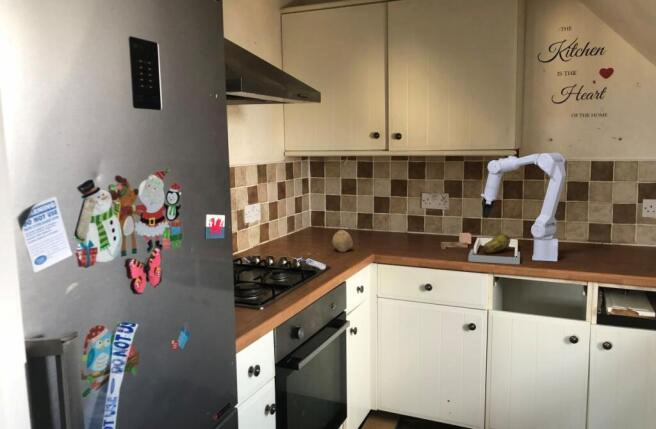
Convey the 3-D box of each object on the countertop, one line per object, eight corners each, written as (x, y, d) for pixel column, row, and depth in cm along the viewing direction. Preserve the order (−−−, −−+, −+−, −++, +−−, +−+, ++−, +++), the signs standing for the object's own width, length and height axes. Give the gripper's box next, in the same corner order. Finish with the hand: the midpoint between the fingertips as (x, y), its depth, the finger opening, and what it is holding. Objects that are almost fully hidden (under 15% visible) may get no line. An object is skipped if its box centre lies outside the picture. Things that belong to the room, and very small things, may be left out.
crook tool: (467, 246, 258) (467, 242, 257) (468, 249, 252) (468, 244, 252) (440, 246, 259) (440, 242, 259) (441, 248, 254) (441, 244, 253)
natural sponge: (328, 251, 251) (328, 229, 250) (344, 248, 256) (344, 227, 254) (339, 254, 243) (339, 232, 242) (355, 252, 248) (355, 230, 247)
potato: (478, 251, 248) (478, 233, 247) (506, 250, 248) (507, 232, 247) (484, 255, 239) (485, 236, 238) (513, 254, 240) (514, 236, 239)
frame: (519, 257, 234) (519, 251, 233) (519, 264, 221) (519, 258, 221) (471, 254, 240) (471, 249, 240) (468, 261, 228) (468, 255, 228)
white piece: (517, 246, 256) (517, 239, 255) (517, 256, 235) (517, 248, 235) (477, 244, 261) (477, 237, 261) (473, 254, 241) (473, 246, 241)
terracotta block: (468, 241, 269) (468, 232, 268) (471, 243, 264) (471, 234, 264) (459, 242, 269) (459, 233, 268) (461, 243, 264) (461, 234, 264)
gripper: (484, 181, 254) (477, 209, 258) (482, 188, 241) (475, 217, 245) (500, 184, 252) (493, 212, 256) (498, 191, 239) (491, 221, 243)
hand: (485, 215), depth 250 cm, fingers open, 7 cm apart
